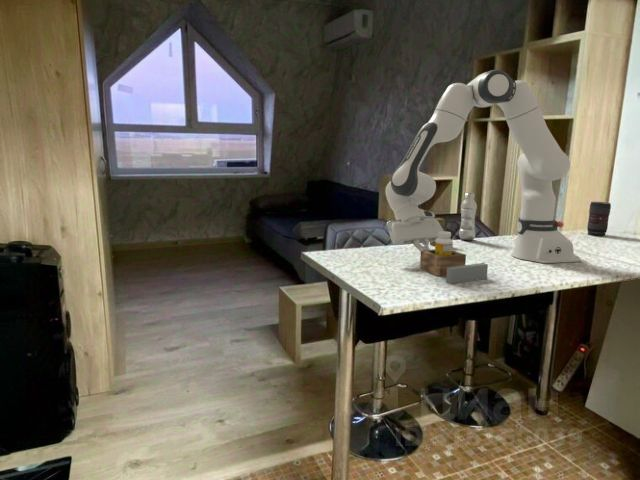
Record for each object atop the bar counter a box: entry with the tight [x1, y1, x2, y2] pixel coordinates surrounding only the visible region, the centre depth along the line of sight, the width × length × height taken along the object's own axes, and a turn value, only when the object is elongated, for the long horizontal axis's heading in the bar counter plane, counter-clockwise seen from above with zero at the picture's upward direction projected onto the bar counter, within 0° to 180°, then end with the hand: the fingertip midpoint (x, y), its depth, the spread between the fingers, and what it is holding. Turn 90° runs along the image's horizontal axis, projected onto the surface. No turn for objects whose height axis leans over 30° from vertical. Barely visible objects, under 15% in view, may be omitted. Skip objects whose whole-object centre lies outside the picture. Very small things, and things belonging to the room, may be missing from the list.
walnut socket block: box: [419, 248, 467, 277], centre depth 151 cm, size 10×10×6 cm
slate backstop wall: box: [445, 262, 489, 285], centre depth 141 cm, size 2×14×4 cm, turn 115°
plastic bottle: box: [458, 192, 478, 241], centre depth 198 cm, size 6×7×20 cm
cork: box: [429, 217, 446, 247], centre depth 189 cm, size 6×6×11 cm
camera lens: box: [586, 201, 612, 237], centre depth 211 cm, size 8×8×15 cm
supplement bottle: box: [434, 230, 454, 256], centre depth 150 cm, size 5×5×10 cm
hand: (425, 252), depth 159 cm, fingers closed
